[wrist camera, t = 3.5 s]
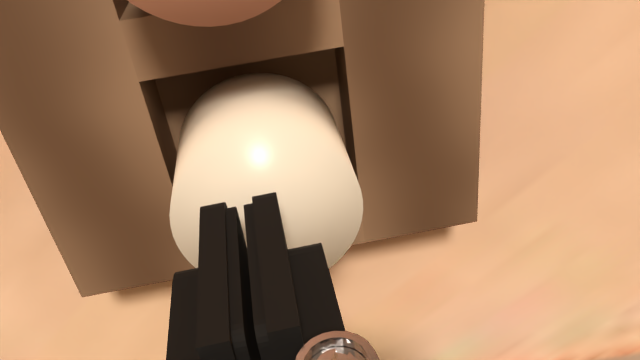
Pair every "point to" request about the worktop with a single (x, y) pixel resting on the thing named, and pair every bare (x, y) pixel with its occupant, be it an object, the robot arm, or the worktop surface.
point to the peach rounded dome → (205, 10)
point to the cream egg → (266, 163)
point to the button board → (202, 74)
